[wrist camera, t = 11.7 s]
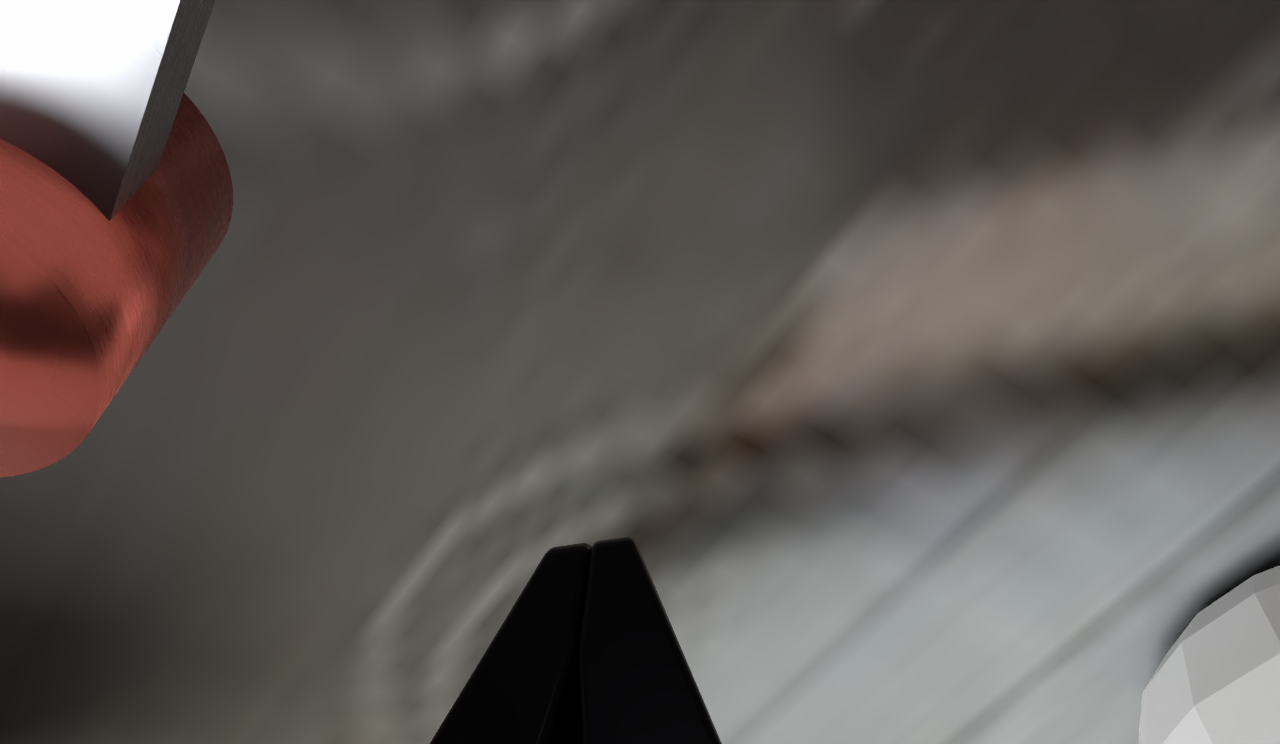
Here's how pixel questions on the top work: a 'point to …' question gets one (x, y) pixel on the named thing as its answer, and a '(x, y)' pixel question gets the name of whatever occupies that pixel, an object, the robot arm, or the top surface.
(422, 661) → the top surface
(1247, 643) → the white faceted vase
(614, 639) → the robot arm
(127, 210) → the lever
